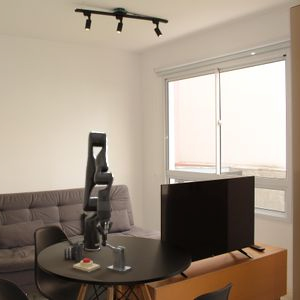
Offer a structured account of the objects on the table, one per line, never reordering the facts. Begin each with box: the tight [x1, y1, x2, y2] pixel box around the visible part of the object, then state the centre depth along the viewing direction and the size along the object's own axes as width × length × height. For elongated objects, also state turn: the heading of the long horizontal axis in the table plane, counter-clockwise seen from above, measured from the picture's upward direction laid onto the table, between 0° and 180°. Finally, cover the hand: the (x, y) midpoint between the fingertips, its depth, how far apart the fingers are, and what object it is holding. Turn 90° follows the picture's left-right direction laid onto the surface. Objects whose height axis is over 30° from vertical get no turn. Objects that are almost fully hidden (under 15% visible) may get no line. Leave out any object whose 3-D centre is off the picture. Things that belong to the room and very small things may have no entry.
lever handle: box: [100, 240, 123, 254], centre depth 206 cm, size 13×3×3 cm, turn 49°
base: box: [106, 245, 132, 273], centre depth 203 cm, size 10×8×12 cm
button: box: [82, 257, 91, 263], centre depth 204 cm, size 4×4×2 cm
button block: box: [72, 259, 101, 273], centre depth 204 cm, size 11×9×4 cm
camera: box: [63, 240, 84, 262], centre depth 222 cm, size 14×11×10 cm
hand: (104, 240), depth 209 cm, fingers closed
